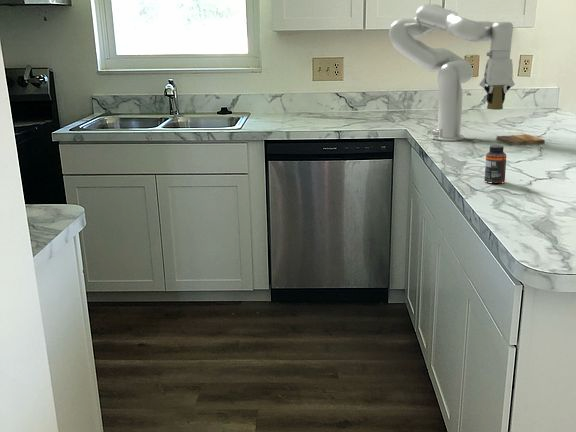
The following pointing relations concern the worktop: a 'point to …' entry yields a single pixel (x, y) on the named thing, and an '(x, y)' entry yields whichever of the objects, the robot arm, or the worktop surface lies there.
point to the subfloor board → (520, 140)
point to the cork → (496, 98)
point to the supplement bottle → (495, 164)
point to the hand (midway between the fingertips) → (495, 102)
